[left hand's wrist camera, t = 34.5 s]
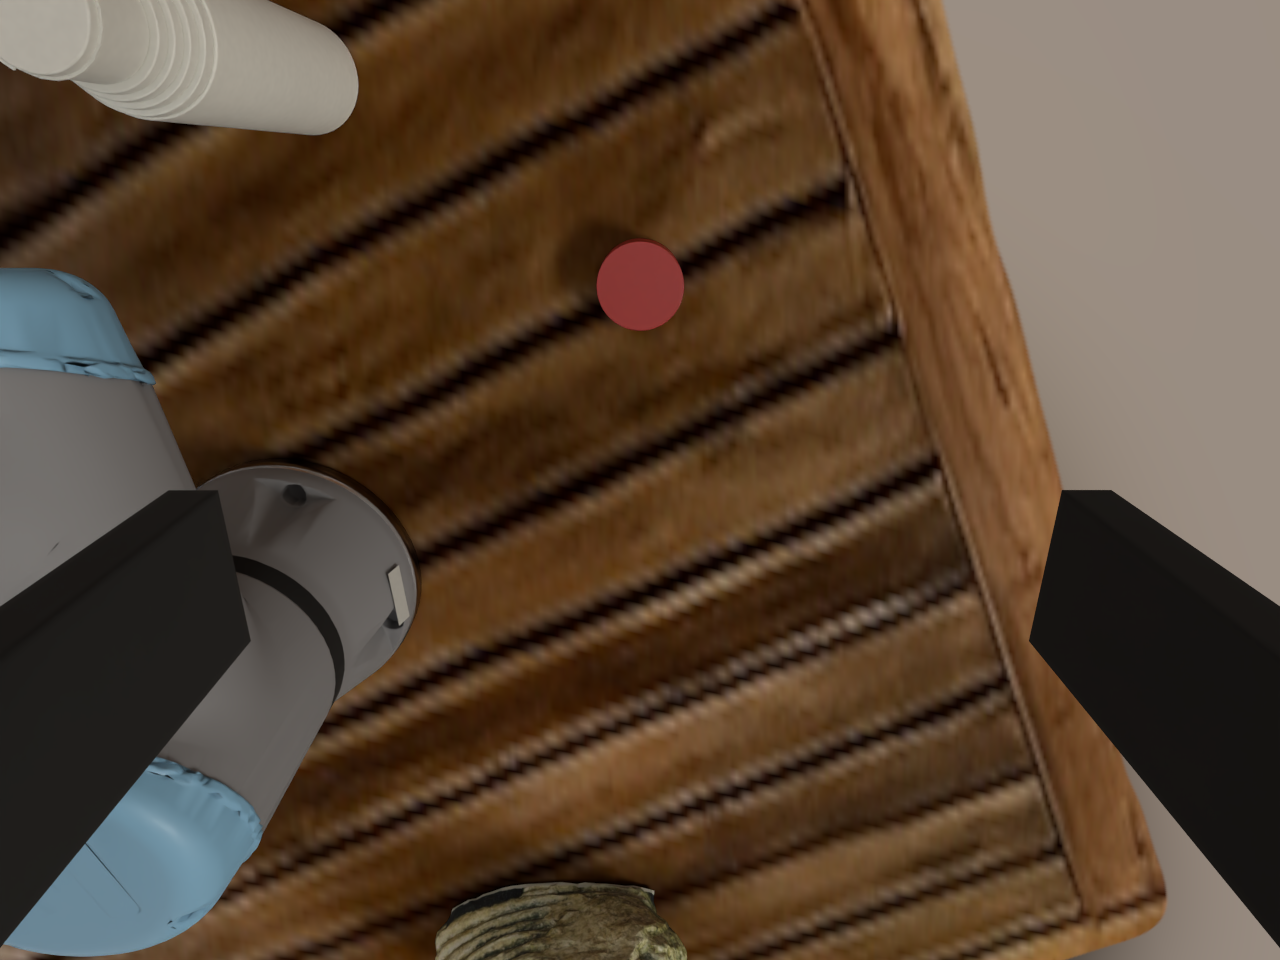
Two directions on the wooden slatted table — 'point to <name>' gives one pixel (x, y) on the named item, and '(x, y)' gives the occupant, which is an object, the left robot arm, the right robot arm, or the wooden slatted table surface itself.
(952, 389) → the wooden slatted table surface
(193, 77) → the bottle
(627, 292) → the cap
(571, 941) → the fossil
